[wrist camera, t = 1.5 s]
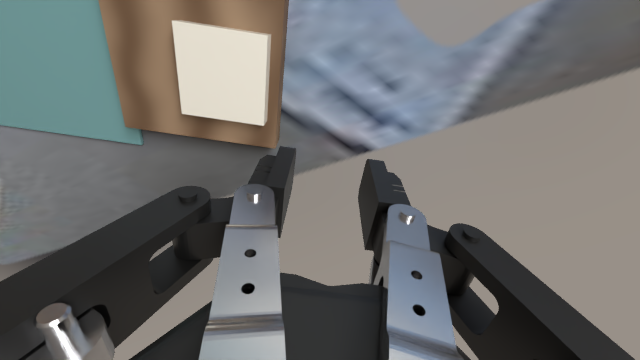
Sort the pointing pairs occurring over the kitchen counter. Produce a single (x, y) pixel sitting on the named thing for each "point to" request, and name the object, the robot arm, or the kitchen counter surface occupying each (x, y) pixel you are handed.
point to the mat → (59, 71)
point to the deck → (161, 69)
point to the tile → (222, 72)
